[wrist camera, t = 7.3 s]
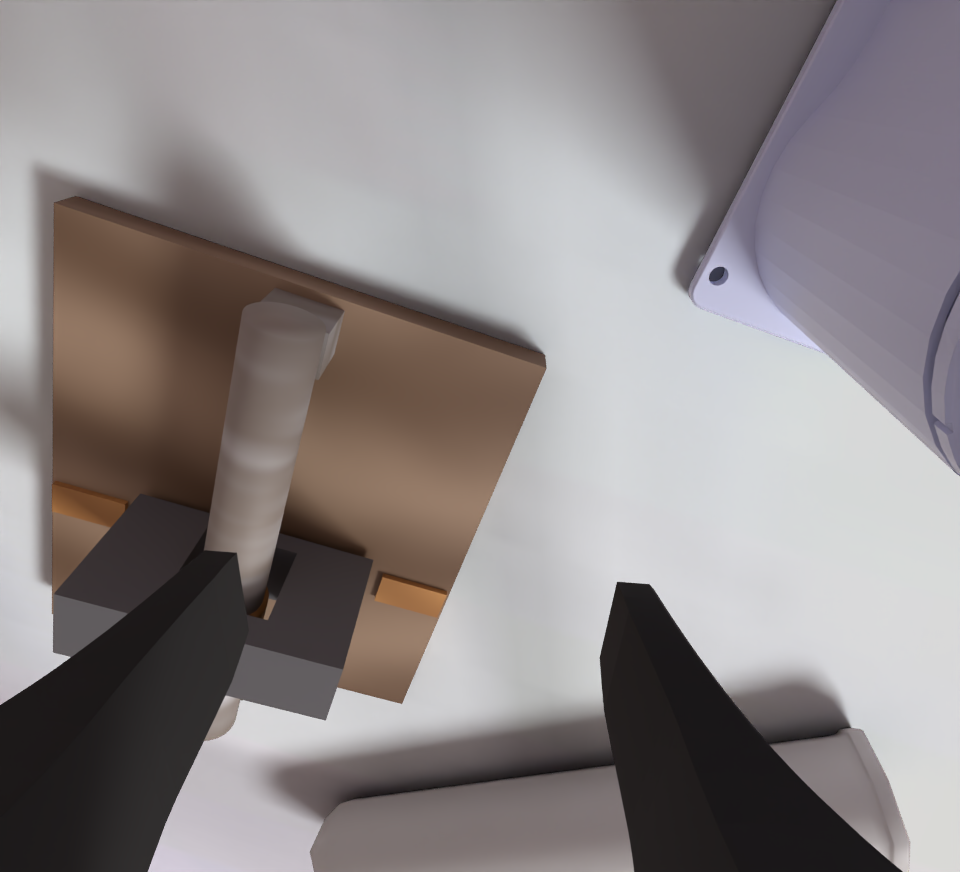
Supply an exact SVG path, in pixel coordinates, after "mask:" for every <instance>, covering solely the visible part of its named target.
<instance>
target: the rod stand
mask: <svg viewBox="0 0 960 872" xmlns="http://www.w3.org/2000/svg"><path fill="white" fill-rule="evenodd" d="M545 370H546V360H545V355H544V354H541V353H538V352H535V351H532V350H529V349H526V348H523V347H520V346H518V345H515V344H512V343H509V342H506V341H503V340H500V339H497V338H494V337H491V336H488V335H485V334H482V333H479V332H476V331H473V330H470V329H467V328H464V327H461V326H458V325H455V324H452V323H450V322H447V321H444V320H441V319H438V318H435V317H432V316H429V315H426V314H423V313H420V312H417V311H414V310H411V309H408V308H405V307H402V306H399V305H396V304H393V303H390V302H387V301H384V300H382V299H379V298H376V297H373V296H370V295H367V294H364V293H361V292H358V291H355V290H352V289H349V288H346V287H343V286H340V285H337V284H334V283H331V282H328V281H325V280H322V279H319V278H317V277H314V276H311V275H308V274H305V273H302V272H299V271H296V270H293V269H290V268H287V267H284V266H281V265H278V264H275V263H272V262H269V261H266V260H263V259H260V258H257V257H254V256H251V255H249V254H246V253H243V252H240V251H237V250H234V249H231V248H228V247H225V246H222V245H219V244H216V243H213V242H210V241H207V240H204V239H201V238H198V237H195V236H192V235H189V234H186V233H183V232H181V231H178V230H175V229H172V228H169V227H166V226H163V225H160V224H157V223H154V222H151V221H148V220H145V219H142V218H139V217H136V216H133V215H130V214H127V213H124V212H121V211H118V210H116V209H113V208H110V207H107V206H104V205H101V204H98V203H95V202H92V201H89V200H86V199H83V198H80V197H77V196H75V197H71V198H68V199H65V200H61V201H58V202H55V203H54V288H53V484H52V614H53V594H54V593H55V592H56V591H57V589H58V588H59V587H60V586H61V585H62V584H63V582H64V581H65V580H66V579H67V578H68V577H69V576H70V574H71V573H72V572H73V571H74V570H75V569H76V567H77V566H78V565H79V564H80V563H81V562H82V560H83V559H84V558H85V557H86V556H87V555H88V554H89V552H90V551H91V550H92V549H93V548H94V547H95V545H96V544H97V543H98V542H99V541H100V540H101V538H102V537H103V536H104V535H105V534H106V533H107V531H108V530H109V529H110V528H111V527H112V526H113V525H114V523H115V522H116V521H117V520H118V519H119V518H120V516H121V515H122V514H123V513H124V512H125V511H126V509H127V508H128V507H129V506H130V505H131V504H132V503H133V501H134V500H135V499H136V498H137V497H138V496H139V494H144V495H147V496H151V497H154V498H158V499H161V500H165V501H169V502H172V503H176V504H179V505H183V506H186V507H190V508H193V509H197V510H200V511H204V512H207V513H210V516H209V522H208V529H207V535H206V541H205V547H204V551H205V550H208V551H221V552H234V553H237V557H238V563H239V570H240V576H241V583H242V589H243V595H244V602H245V608H246V615H250V616H254V617H257V618H261V619H265V620H268V619H269V616H270V614H271V612H272V609H273V607H274V605H275V603H276V600H272V599H269V591H268V588H267V582H268V578H269V574H270V570H271V565H272V561H273V557H274V552H275V548H276V544H277V539H278V535H279V533H281V534H284V535H288V536H291V537H295V538H298V539H302V540H305V541H309V542H312V543H316V544H319V545H323V546H326V547H330V548H333V549H337V550H340V551H344V552H348V553H351V554H355V555H358V556H362V557H365V558H369V559H372V560H373V564H372V567H371V571H370V575H369V578H368V582H367V585H366V589H365V593H364V596H363V600H362V603H361V607H360V611H359V614H358V618H357V621H356V625H355V629H354V632H353V636H352V639H351V643H350V647H349V650H348V654H347V657H346V661H345V665H344V668H343V671H342V674H341V677H340V680H339V683H338V686H337V687H338V688H342V689H346V690H350V691H354V692H358V693H362V694H366V695H370V696H373V697H377V698H381V699H385V700H389V701H393V702H397V703H401V704H402V702H403V700H404V698H405V695H406V693H407V691H408V688H409V686H410V684H411V681H412V679H413V677H414V674H415V672H416V670H417V668H418V665H419V663H420V661H421V658H422V656H423V654H424V651H425V649H426V647H427V644H428V642H429V640H430V637H431V635H432V633H433V630H434V628H435V626H436V623H437V621H438V619H439V616H440V614H441V612H442V609H443V607H444V605H445V603H446V600H447V598H448V596H449V593H450V591H451V589H452V586H453V584H454V582H455V579H456V577H457V575H458V572H459V570H460V568H461V565H462V563H463V561H464V558H465V556H466V554H467V551H468V549H469V547H470V544H471V542H472V540H473V538H474V535H475V533H476V531H477V528H478V526H479V524H480V521H481V519H482V517H483V514H484V512H485V510H486V507H487V505H488V503H489V500H490V498H491V496H492V493H493V491H494V489H495V486H496V484H497V482H498V479H499V477H500V475H501V473H502V470H503V468H504V466H505V463H506V461H507V459H508V456H509V454H510V452H511V449H512V447H513V445H514V442H515V440H516V438H517V435H518V433H519V431H520V428H521V426H522V424H523V421H524V419H525V417H526V414H527V412H528V410H529V408H530V405H531V403H532V401H533V398H534V396H535V394H536V391H537V389H538V387H539V384H540V382H541V380H542V377H543V375H544V373H545ZM240 700H242V699H238V698H234V697H230V696H225V698H224V700H223V702H222V704H221V706H220V708H219V710H218V712H217V715H216V717H215V719H214V721H213V723H212V725H211V727H210V729H209V731H208V733H207V736H206V738H205V740H204V741H208V740H213V739H216V738H219V737H221V736H222V735H224V734H225V733H227V732H228V731H229V730H230V729H231V727H232V726H233V724H234V722H235V719H236V716H237V711H238V707H239V703H240Z"/></svg>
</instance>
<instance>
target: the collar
mask: <svg viewBox="0 0 960 872" xmlns="http://www.w3.org/2000/svg"><path fill="white" fill-rule="evenodd" d="M209 516H210V513H207V512H204V511H200V510H197V509H193V508H190V507H186V506H183V505H179V504H176V503H172V502H169V501H165V500H161V499H158V498H154V497H151V496H147V495H144V494H139V496H138V497H137V498H136V499H135V500H134V501H133V503H132V504H131V505H130V506H129V507H128V508H127V509H126V511H125V512H124V513H123V514H122V515H121V516H120V518H119V519H118V520H117V521H116V522H115V523H114V525H113V526H112V527H111V528H110V529H109V530H108V531H107V533H106V534H105V535H104V536H103V537H102V538H101V540H100V541H99V542H98V543H97V544H96V545H95V547H94V548H93V549H92V550H91V551H90V552H89V554H88V555H87V556H86V557H85V558H84V559H83V560H82V562H81V563H80V564H79V565H78V566H77V567H76V569H75V570H74V571H73V572H72V573H71V574H70V576H69V577H68V578H67V579H66V580H65V581H64V582H63V584H62V585H61V586H60V587H59V588H58V589H57V591H56V592H55V593H54V594H53V652H54V653H58V654H62V655H66V656H70V657H72V656H73V655H75V654H76V653H77V652H79V651H80V650H82V649H83V648H84V647H86V646H87V645H88V644H90V643H91V642H92V641H94V640H95V639H96V638H98V637H99V636H100V635H102V634H103V633H104V632H106V631H107V630H108V629H109V628H111V627H112V626H113V625H114V624H116V623H117V622H118V621H119V620H121V619H122V618H123V617H124V616H126V615H127V614H128V613H129V612H131V611H132V610H133V609H134V608H136V607H137V606H138V605H139V604H141V603H142V602H143V601H144V600H145V599H147V598H148V597H149V596H150V595H151V594H153V593H154V592H155V591H156V590H157V589H159V588H160V587H161V586H162V585H163V584H165V583H166V582H167V581H168V580H169V579H171V578H172V577H173V576H174V575H175V574H176V573H178V572H179V571H180V570H181V569H182V568H184V567H185V566H186V565H187V564H189V563H190V562H191V561H192V560H193V559H195V558H196V557H197V556H198V555H200V554H201V553H202V552H203V551H204V547H205V541H206V535H207V529H208V522H209ZM372 564H373V560H372V559H369V558H365V557H362V556H358V555H355V554H351V553H348V552H344V551H340V550H337V549H333V548H330V547H326V546H323V545H319V544H316V543H312V542H309V541H305V540H302V539H298V538H295V537H291V536H288V535H284V534H281V533H279V535H278V539H277V544H276V548H275V552H274V557H273V561H272V565H271V570H270V574H269V578H268V582H267V588H268V591H269V599H272V600H276V603H275V605H274V607H273V609H272V612H271V614H270V616H269V619H268V620H265V619H261V618H257V617H254V616H250V615H247V621H248V628H249V632H248V635H247V638H246V641H245V644H244V648H243V651H242V654H241V657H240V660H239V663H238V666H237V669H236V671H235V674H234V677H233V680H232V683H231V685H230V687H229V689H228V691H227V693H226V696H230V697H234V698H238V699H242V700H246V701H250V702H254V703H258V704H262V705H266V706H270V707H274V708H278V709H282V710H286V711H290V712H294V713H298V714H302V715H306V716H310V717H314V718H318V719H322V720H326V718H327V715H328V712H329V709H330V706H331V703H332V700H333V698H334V695H335V692H336V689H337V686H338V683H339V680H340V677H341V674H342V671H343V668H344V665H345V661H346V657H347V654H348V650H349V647H350V643H351V639H352V636H353V632H354V629H355V625H356V621H357V618H358V614H359V611H360V607H361V603H362V600H363V596H364V593H365V589H366V585H367V582H368V578H369V575H370V571H371V567H372Z"/></svg>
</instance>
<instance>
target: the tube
mask: <svg viewBox="0 0 960 872" xmlns="http://www.w3.org/2000/svg"><path fill="white" fill-rule="evenodd" d="M769 745H770V746H771V747H772V748H773V749H774V751H775V752H776V753H777V754H778V755H779V756H780V757H781V758H782V759H783V760H784V761H785V762H786V763H787V764H788V766H789V767H790V768H791V769H792V770H793V771H794V772H795V773H796V774H797V775H798V776H799V777H800V778H801V779H802V780H803V781H804V782H805V783H806V784H807V785H808V786H809V787H810V788H811V789H812V790H813V791H814V792H815V793H816V794H817V795H818V796H819V797H820V798H821V799H822V800H823V801H824V802H825V803H826V804H828V805H829V806H830V807H831V808H832V809H833V810H834V811H835V812H836V813H837V814H838V815H839V816H840V817H842V818H843V819H844V820H845V821H846V822H847V823H848V824H849V825H850V826H851V827H852V828H853V829H854V830H855V831H857V832H858V833H859V834H860V835H861V836H862V837H863V838H864V839H865V840H866V841H868V842H869V843H870V844H871V845H872V846H873V847H874V848H876V849H877V850H878V851H879V852H880V853H881V854H882V855H884V856H885V857H886V858H887V859H888V860H890V861H891V862H892V863H893V864H894V865H895V866H897V867H898V868H899V869H900V870H901V871H903V872H909V861H910V840H909V837H908V835H907V832H906V829H905V826H904V823H903V820H902V817H901V814H900V812H899V809H898V806H897V803H896V800H895V797H894V794H893V791H892V789H891V786H890V783H889V780H888V778H887V776H886V774H885V772H884V770H883V768H882V766H881V764H880V762H879V760H878V758H877V757H876V755H875V753H874V751H873V749H872V747H871V745H870V743H869V741H868V739H867V737H866V735H865V733H864V731H863V730H861V729H855V728H845V729H839V730H838V732H837V733H836V734H835V735H831V736H826V737H818V738H811V739H803V740H796V741H788V742H781V743H773V744H769ZM310 855H311V859H312V864H313V868H314V872H634V866H633V858H632V852H631V845H630V839H629V833H628V828H627V823H626V818H625V813H624V808H623V803H622V798H621V793H620V788H619V783H618V778H617V773H616V768H615V765H607V766H600V767H592V768H585V769H577V770H570V771H562V772H554V773H547V774H539V775H532V776H524V777H517V778H509V779H502V780H494V781H487V782H479V783H472V784H464V785H456V786H449V787H441V788H434V789H426V790H419V791H411V792H404V793H396V794H389V795H381V796H374V797H366V798H358V799H353V800H350V801H347V802H343V803H340V804H339V805H338V806H337V807H336V808H335V809H334V810H333V811H332V812H331V813H330V814H329V815H328V816H327V818H326V819H325V820H324V822H323V824H322V826H321V829H320V831H319V833H318V835H317V837H316V839H315V841H314V844H313V846H312V848H311V850H310Z"/></svg>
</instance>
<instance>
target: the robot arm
mask: <svg viewBox="0 0 960 872" xmlns="http://www.w3.org/2000/svg"><path fill="white" fill-rule="evenodd" d="M716 267H724V270H725V271H724V275H723V276H722V278H721V279H720V280H717V281H709V275H710V272H711V271H712V270H713V269H714V268H716ZM689 297H690V299H691V300H692V302H693V303H694V304H695V305H696V306H697V307H699V308H700V309H703V310H706V311H708V312H711V313H714V314H717V315H720V316H722V317H725V318H728V319H731V320H733V321H736V322H739V323H742V324H745V325H747V326H750V327H753V328H756V329H758V330H761V331H764V332H767V333H770V334H772V335H775V336H778V337H781V338H783V339H786V340H789V341H792V342H795V343H797V344H800V345H803V346H806V347H808V348H811V349H814V350H817V351H820V352H822V353H825V354H827V355H828V356H829V357H830V358H831V359H832V360H833V361H835V362H836V363H837V364H838V365H839V366H840V367H841V368H842V369H843V370H844V371H845V372H846V373H848V374H849V375H850V376H851V377H852V378H853V379H854V380H855V381H856V382H857V383H858V384H860V385H861V386H862V387H863V388H864V389H865V390H866V391H867V392H868V393H869V394H870V395H871V396H873V397H874V398H875V399H876V400H877V401H878V402H879V403H880V404H881V405H882V406H883V407H885V408H886V409H887V410H888V411H889V412H890V413H891V414H892V415H893V416H894V417H895V418H896V419H898V420H899V421H900V422H901V423H902V424H903V425H904V426H905V427H906V428H907V429H908V430H910V431H911V432H912V433H913V434H914V435H915V436H916V437H917V438H918V439H919V440H920V441H921V442H923V443H924V444H925V445H926V446H927V447H928V448H929V449H930V450H931V451H932V452H933V453H935V454H936V455H937V456H938V457H939V458H940V459H941V460H942V461H943V462H944V463H945V464H946V465H948V466H949V467H950V468H951V469H952V470H953V471H954V472H955V473H957V474H958V475H959V476H960V0H837V1H836V3H835V5H834V7H833V9H832V11H831V13H830V15H829V17H828V19H827V21H826V22H825V24H824V26H823V28H822V30H821V32H820V34H819V36H818V38H817V40H816V42H815V44H814V46H813V48H812V49H811V51H810V53H809V55H808V57H807V59H806V61H805V63H804V65H803V67H802V69H801V71H800V73H799V75H798V77H797V78H796V80H795V82H794V84H793V86H792V88H791V90H790V92H789V94H788V96H787V98H786V100H785V102H784V104H783V106H782V107H781V109H780V111H779V113H778V115H777V117H776V119H775V121H774V123H773V125H772V127H771V129H770V131H769V133H768V135H767V136H766V138H765V140H764V142H763V144H762V146H761V148H760V150H759V152H758V154H757V156H756V158H755V160H754V162H753V164H752V165H751V167H750V169H749V171H748V173H747V175H746V177H745V179H744V181H743V183H742V185H741V187H740V189H739V191H738V193H737V194H736V196H735V198H734V200H733V202H732V204H731V206H730V208H729V210H728V212H727V214H726V216H725V218H724V220H723V222H722V223H721V225H720V227H719V229H718V231H717V233H716V235H715V237H714V239H713V241H712V243H711V245H710V247H709V249H708V251H707V252H706V254H705V256H704V258H703V260H702V262H701V264H700V266H699V268H698V270H697V272H696V274H695V276H694V278H693V280H692V281H691V283H690V287H689ZM248 632H249V628H248V621H247V615H246V608H245V602H244V595H243V589H242V583H241V576H240V570H239V563H238V557H237V553H234V552H221V551H208V550H205V551H203V552H202V553H201V554H200V555H198V556H197V557H196V558H195V559H193V560H192V561H191V562H190V563H189V564H187V565H186V566H185V567H184V568H182V569H181V570H180V571H179V572H178V573H176V574H175V575H174V576H173V577H172V578H171V579H169V580H168V581H167V582H166V583H165V584H163V585H162V586H161V587H160V588H159V589H157V590H156V591H155V592H154V593H153V594H151V595H150V596H149V597H148V598H147V599H145V600H144V601H143V602H142V603H141V604H139V605H138V606H137V607H136V608H134V609H133V610H132V611H131V612H129V613H128V614H127V615H126V616H124V617H123V618H122V619H121V620H119V621H118V622H117V623H116V624H114V625H113V626H112V627H111V628H109V629H108V630H107V631H106V632H104V633H103V634H102V635H100V636H99V637H98V638H96V639H95V640H94V641H92V642H91V643H90V644H88V645H87V646H86V647H84V648H83V649H82V650H80V651H79V652H77V653H76V654H75V655H73V656H72V657H71V658H69V659H68V660H67V661H65V662H64V663H63V664H61V665H60V666H59V667H57V668H56V669H54V670H53V671H51V672H50V673H49V674H47V675H46V676H44V677H43V678H41V679H40V680H38V681H37V682H35V683H34V684H32V685H31V686H29V687H28V688H26V689H25V690H23V691H22V692H20V693H18V694H17V695H15V696H14V697H12V698H11V699H9V700H7V701H6V702H4V703H3V704H1V705H0V872H148V869H149V866H150V864H151V861H152V858H153V856H154V853H155V850H156V848H157V845H158V842H159V839H160V837H161V834H162V831H163V829H164V826H165V823H166V821H167V819H168V816H169V814H170V812H171V810H172V807H173V805H174V803H175V800H176V798H177V796H178V794H179V792H180V790H181V787H182V785H183V783H184V781H185V779H186V777H187V775H188V773H189V771H190V769H191V767H192V765H193V763H194V760H195V758H196V756H197V754H198V752H199V750H200V748H201V746H202V744H203V742H204V740H205V738H206V736H207V733H208V731H209V729H210V727H211V725H212V723H213V721H214V719H215V717H216V715H217V712H218V710H219V708H220V706H221V704H222V702H223V700H224V698H225V696H226V693H227V691H228V689H229V687H230V685H231V683H232V680H233V677H234V674H235V671H236V669H237V666H238V663H239V660H240V657H241V654H242V651H243V648H244V644H245V641H246V638H247V635H248ZM600 667H601V680H602V692H603V703H604V712H605V717H606V723H607V728H608V733H609V738H610V743H611V748H612V753H613V758H614V763H615V768H616V773H617V778H618V783H619V788H620V793H621V798H622V803H623V808H624V813H625V818H626V823H627V828H628V833H629V839H630V845H631V852H632V858H633V866H634V872H903V871H901V870H900V869H899V868H898V867H897V866H895V865H894V864H893V863H892V862H891V861H890V860H888V859H887V858H886V857H885V856H884V855H882V854H881V853H880V852H879V851H878V850H877V849H876V848H874V847H873V846H872V845H871V844H870V843H869V842H868V841H866V840H865V839H864V838H863V837H862V836H861V835H860V834H859V833H858V832H857V831H855V830H854V829H853V828H852V827H851V826H850V825H849V824H848V823H847V822H846V821H845V820H844V819H843V818H842V817H840V816H839V815H838V814H837V813H836V812H835V811H834V810H833V809H832V808H831V807H830V806H829V805H828V804H826V803H825V802H824V801H823V800H822V799H821V798H820V797H819V796H818V795H817V794H816V793H815V792H814V791H813V790H812V789H811V788H810V787H809V786H808V785H807V784H806V783H805V782H804V781H803V780H802V779H801V778H800V777H799V776H798V775H797V774H796V773H795V772H794V771H793V770H792V769H791V768H790V767H789V766H788V764H787V763H786V762H785V761H784V760H783V759H782V758H781V757H780V756H779V755H778V754H777V753H776V752H775V751H774V749H773V748H772V747H771V746H770V745H769V744H768V743H767V742H766V740H765V739H764V738H763V737H762V736H761V735H760V734H759V732H758V731H757V730H756V729H755V728H754V727H753V725H752V724H751V723H750V722H749V721H748V719H747V718H746V717H745V716H744V714H743V713H742V712H741V711H740V710H739V708H738V707H737V706H736V705H735V703H734V702H733V701H732V700H731V699H730V697H729V696H728V695H727V693H726V692H725V691H724V690H723V688H722V687H721V686H720V684H719V683H718V682H717V680H716V679H715V678H714V676H713V675H712V674H711V672H710V671H709V670H708V668H707V667H706V665H705V664H704V663H703V661H702V660H701V659H700V657H699V656H698V655H697V653H696V652H695V650H694V649H693V648H692V646H691V645H690V643H689V642H688V640H687V639H686V637H685V636H684V635H683V633H682V632H681V630H680V629H679V627H678V626H677V624H676V623H675V621H674V620H673V618H672V617H671V615H670V614H669V612H668V611H667V609H666V608H665V606H664V604H663V603H662V601H661V600H660V598H659V597H658V595H657V594H656V592H655V591H654V589H653V588H652V587H651V586H650V584H638V583H625V582H617V585H616V589H615V594H614V598H613V602H612V607H611V611H610V615H609V620H608V624H607V628H606V633H605V637H604V642H603V646H602V650H601V655H600Z"/></svg>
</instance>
